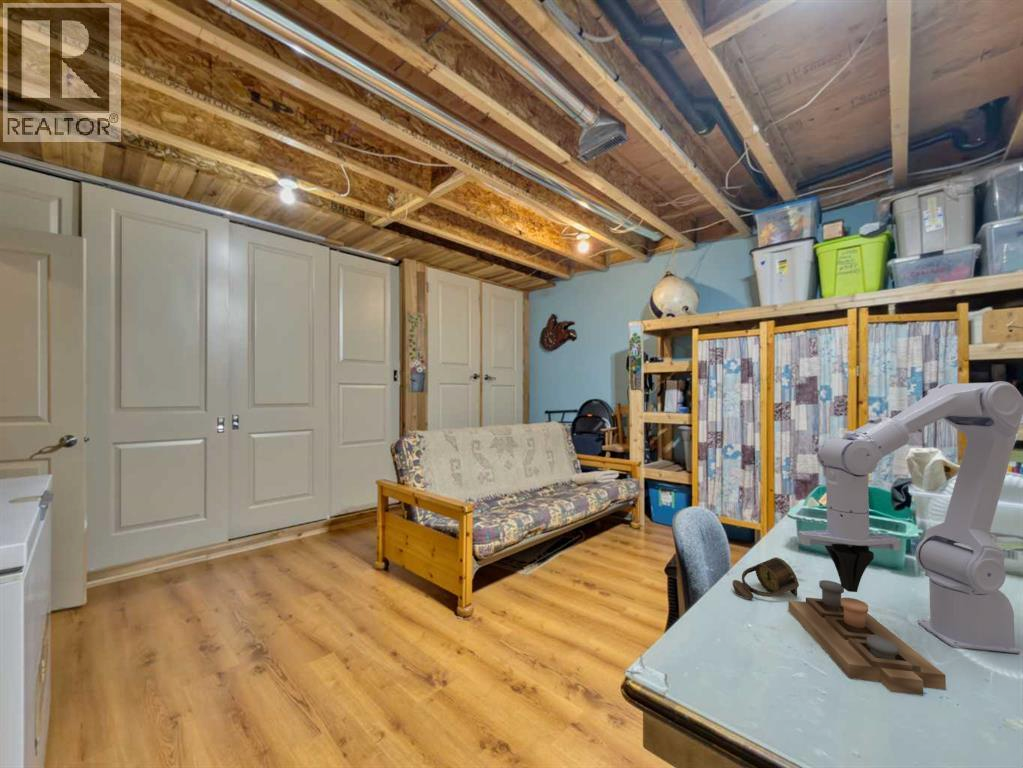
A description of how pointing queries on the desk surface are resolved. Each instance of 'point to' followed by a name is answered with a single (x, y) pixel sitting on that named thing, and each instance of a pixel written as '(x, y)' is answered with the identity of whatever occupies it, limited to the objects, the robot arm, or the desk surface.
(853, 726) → the desk surface
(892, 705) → the desk surface
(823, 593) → the grey plug far
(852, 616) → the terracotta plug
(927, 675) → the walnut test board
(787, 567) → the brown watering can
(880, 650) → the grey plug near
